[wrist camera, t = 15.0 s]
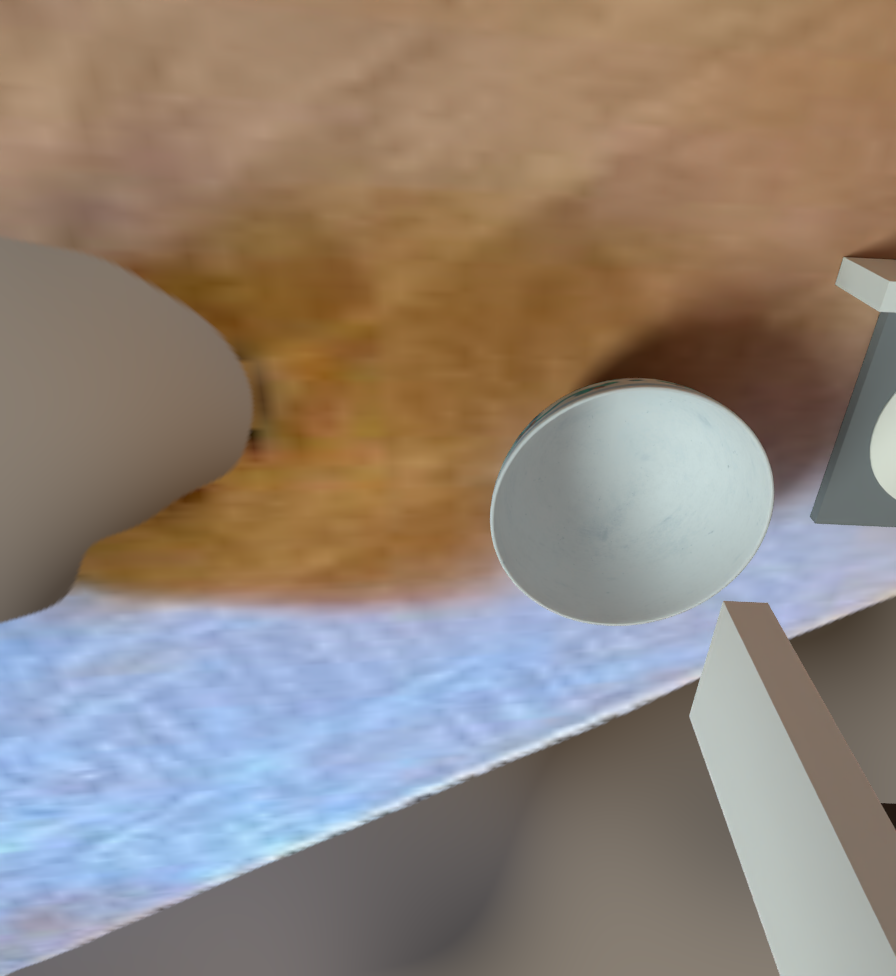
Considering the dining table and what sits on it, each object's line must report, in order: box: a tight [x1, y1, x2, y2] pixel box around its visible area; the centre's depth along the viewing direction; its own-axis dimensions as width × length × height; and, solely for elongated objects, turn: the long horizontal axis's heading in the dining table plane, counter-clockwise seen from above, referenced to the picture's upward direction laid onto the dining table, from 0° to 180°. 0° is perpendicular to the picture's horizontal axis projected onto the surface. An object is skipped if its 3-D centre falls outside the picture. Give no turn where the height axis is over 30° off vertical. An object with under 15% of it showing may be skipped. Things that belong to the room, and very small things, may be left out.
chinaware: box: [490, 378, 774, 626], centre depth 43 cm, size 15×15×8 cm
